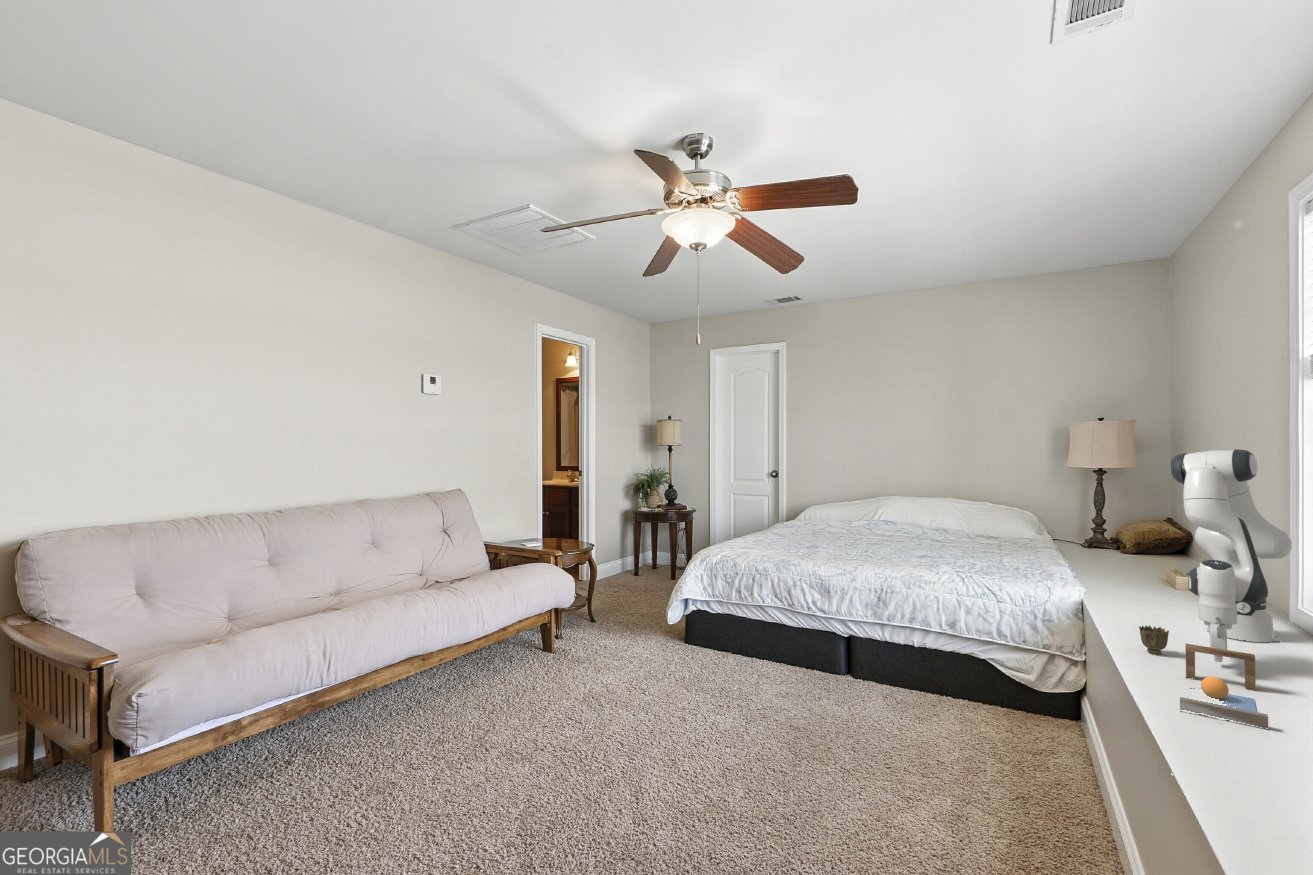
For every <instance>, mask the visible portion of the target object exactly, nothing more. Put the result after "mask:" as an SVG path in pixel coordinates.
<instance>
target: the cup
mask: <svg viewBox="0 0 1313 875" xmlns="http://www.w3.org/2000/svg"><path fill="white" fill-rule="evenodd" d="M1138 628H1139V634H1140V639H1141V643H1142V644H1143V646H1144V647H1146V648H1147V649H1146V651H1147V653H1149V654H1151V655H1154V656H1155V655H1157V656H1159V655H1162V651H1163V650H1165V649H1166V647H1167V645H1168V640H1169V634H1170V632H1169V629H1168V630H1166V629H1165V628H1162V627H1161V626H1159V627H1157V626H1153V627H1152V626H1151V625H1148V626H1147V625H1140V626H1139V627H1138Z"/></svg>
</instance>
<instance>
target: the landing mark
mask: <svg viewBox="0 0 1313 875" xmlns="http://www.w3.org/2000/svg"><path fill="white" fill-rule="evenodd" d="M1195 688H1196V687H1195ZM1195 688H1193V689H1195ZM1198 688H1199V687H1198ZM1190 689H1192V688H1190ZM1199 689H1201V687H1200V688H1199ZM1219 701H1224V702H1223V703H1222V704H1227V705H1228V707H1234V708H1235V707H1236V708H1238V709H1243V710H1248V711H1253V712H1257V708H1256V704H1255V699H1254V698H1252V697H1246V696H1243V695H1235V694H1231V693H1228V695H1227V696H1226V697H1225V698H1222V699H1219ZM1226 701H1227V702H1226ZM1229 704H1230V705H1229ZM1227 705H1226V706H1227Z"/></svg>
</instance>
